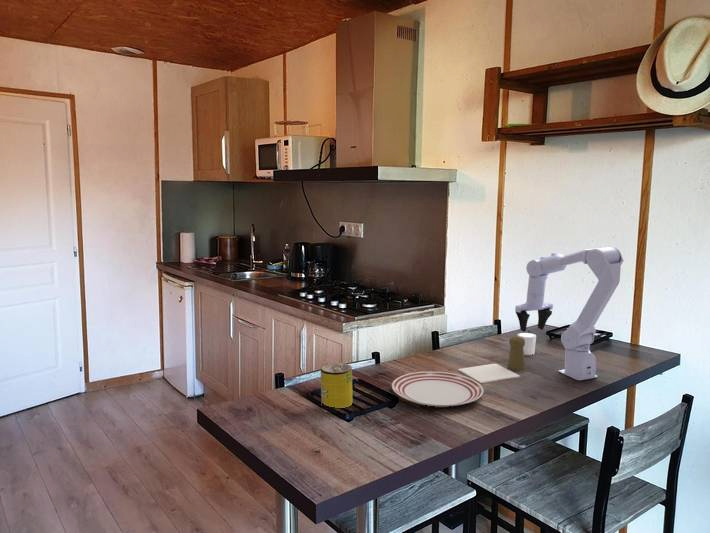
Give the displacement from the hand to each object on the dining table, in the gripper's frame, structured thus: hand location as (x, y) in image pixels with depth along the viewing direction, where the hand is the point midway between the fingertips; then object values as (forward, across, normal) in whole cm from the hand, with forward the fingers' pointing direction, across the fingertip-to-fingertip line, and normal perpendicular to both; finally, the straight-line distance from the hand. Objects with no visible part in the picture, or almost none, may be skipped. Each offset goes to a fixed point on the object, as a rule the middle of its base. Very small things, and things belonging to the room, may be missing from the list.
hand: (531, 329), depth 196 cm
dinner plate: (+11, +47, +17) cm, 51 cm away
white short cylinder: (+12, -4, -7) cm, 14 cm away
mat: (+11, +22, +7) cm, 26 cm away
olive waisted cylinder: (+11, +10, +6) cm, 16 cm away
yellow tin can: (+12, +78, +14) cm, 80 cm away
